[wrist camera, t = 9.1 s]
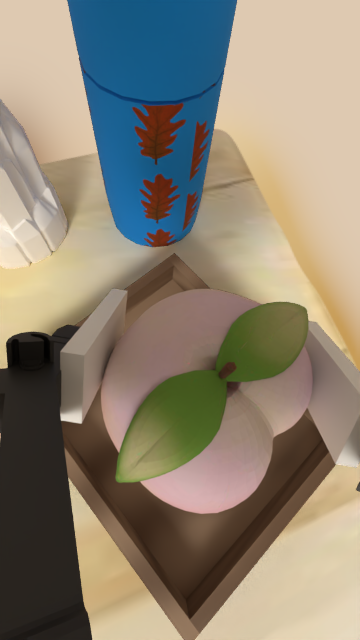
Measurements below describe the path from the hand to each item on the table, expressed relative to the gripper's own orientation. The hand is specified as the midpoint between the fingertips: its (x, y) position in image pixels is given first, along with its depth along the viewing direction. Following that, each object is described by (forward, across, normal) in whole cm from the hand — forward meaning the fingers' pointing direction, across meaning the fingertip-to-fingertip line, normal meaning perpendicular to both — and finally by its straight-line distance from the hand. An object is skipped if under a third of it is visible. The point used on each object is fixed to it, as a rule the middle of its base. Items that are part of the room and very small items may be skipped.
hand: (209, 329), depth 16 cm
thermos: (+27, -7, +3) cm, 27 cm away
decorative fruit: (+1, 0, -5) cm, 5 cm away
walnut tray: (+10, 0, -14) cm, 17 cm away
